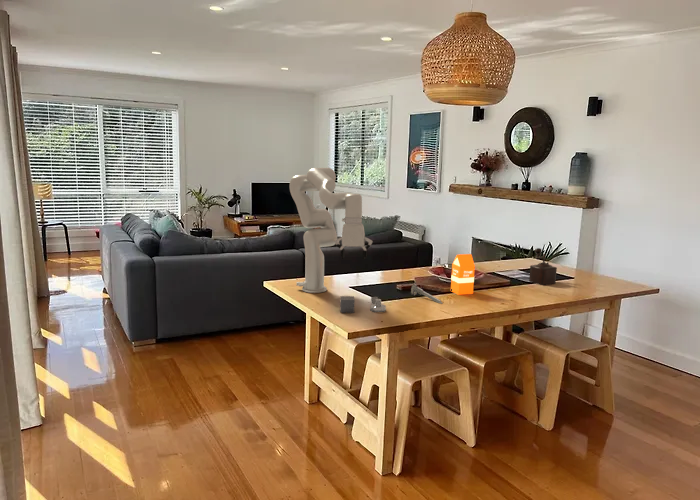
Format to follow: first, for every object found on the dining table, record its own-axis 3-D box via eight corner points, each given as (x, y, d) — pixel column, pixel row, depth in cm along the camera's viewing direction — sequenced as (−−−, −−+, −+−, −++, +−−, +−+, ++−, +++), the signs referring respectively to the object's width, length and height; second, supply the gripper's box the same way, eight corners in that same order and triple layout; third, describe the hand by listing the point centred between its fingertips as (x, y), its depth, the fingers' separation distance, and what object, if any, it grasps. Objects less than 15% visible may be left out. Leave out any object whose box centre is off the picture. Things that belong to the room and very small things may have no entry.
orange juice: (450, 290, 281) (452, 253, 277) (465, 289, 284) (467, 252, 280) (458, 294, 274) (460, 256, 270) (473, 293, 277) (475, 255, 273)
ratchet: (370, 312, 240) (371, 301, 239) (366, 299, 261) (367, 289, 260) (386, 312, 241) (386, 302, 240) (381, 299, 261) (381, 289, 260)
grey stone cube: (340, 312, 239) (340, 299, 238) (340, 309, 245) (340, 296, 244) (354, 313, 239) (354, 299, 238) (353, 309, 245) (353, 296, 244)
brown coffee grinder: (556, 283, 302) (559, 252, 299) (542, 285, 297) (545, 253, 294) (535, 277, 316) (538, 247, 312) (521, 279, 311) (524, 248, 307)
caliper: (410, 295, 272) (411, 282, 271) (412, 294, 273) (412, 282, 272) (441, 304, 257) (442, 291, 256) (442, 304, 257) (443, 291, 256)
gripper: (333, 221, 242) (333, 259, 245) (371, 222, 239) (371, 260, 241) (336, 220, 249) (336, 256, 252) (373, 220, 246) (373, 257, 249)
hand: (353, 258), depth 247 cm, fingers open, 9 cm apart
